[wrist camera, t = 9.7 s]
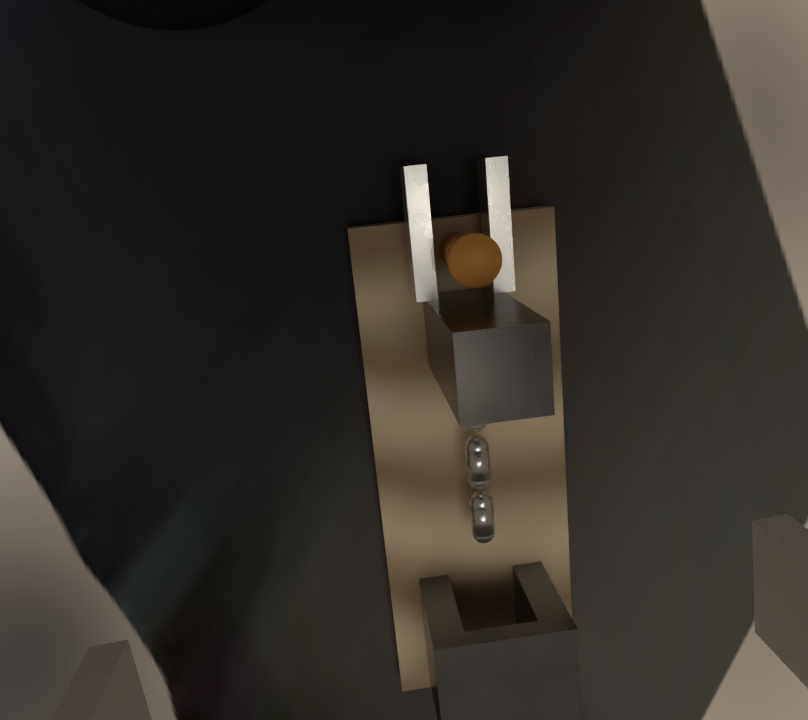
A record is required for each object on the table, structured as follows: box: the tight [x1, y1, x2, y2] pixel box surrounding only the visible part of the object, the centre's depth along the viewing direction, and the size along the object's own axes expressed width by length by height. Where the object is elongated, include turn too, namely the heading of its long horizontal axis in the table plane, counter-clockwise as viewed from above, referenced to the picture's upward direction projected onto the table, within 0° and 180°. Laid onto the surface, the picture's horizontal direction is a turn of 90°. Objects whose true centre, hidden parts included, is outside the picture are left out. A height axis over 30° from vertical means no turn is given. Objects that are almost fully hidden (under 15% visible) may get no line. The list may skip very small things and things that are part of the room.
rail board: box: [347, 206, 572, 691], centre depth 37 cm, size 26×10×2 cm, turn 6°
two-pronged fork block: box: [400, 156, 555, 543], centre depth 30 cm, size 19×5×9 cm, turn 6°
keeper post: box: [438, 232, 502, 288], centre depth 31 cm, size 2×2×5 cm
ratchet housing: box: [419, 561, 581, 720], centre depth 36 cm, size 6×7×6 cm
